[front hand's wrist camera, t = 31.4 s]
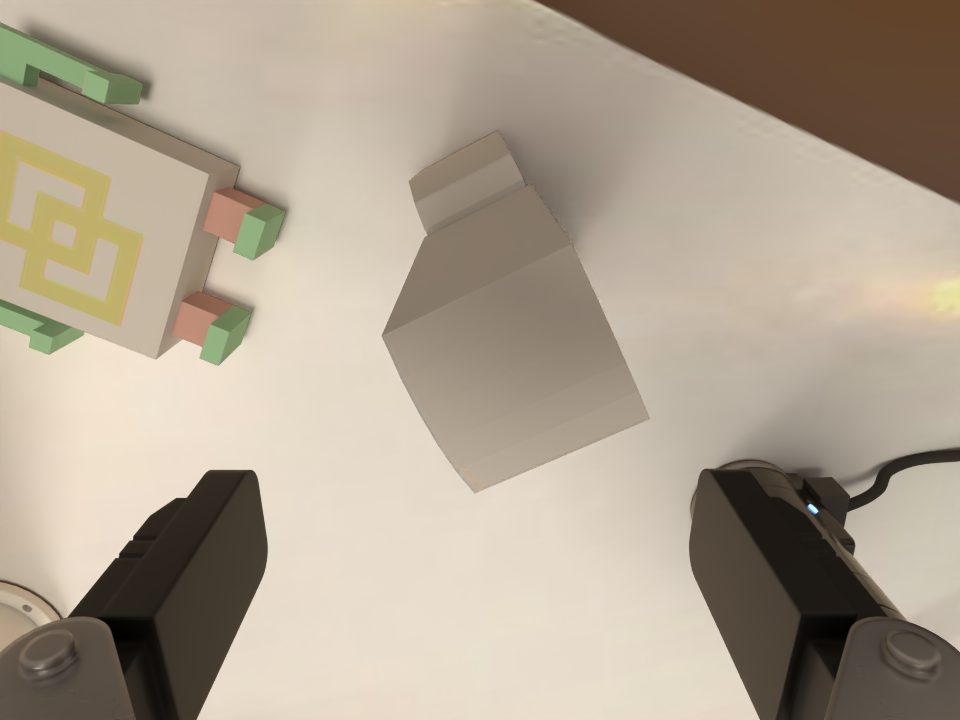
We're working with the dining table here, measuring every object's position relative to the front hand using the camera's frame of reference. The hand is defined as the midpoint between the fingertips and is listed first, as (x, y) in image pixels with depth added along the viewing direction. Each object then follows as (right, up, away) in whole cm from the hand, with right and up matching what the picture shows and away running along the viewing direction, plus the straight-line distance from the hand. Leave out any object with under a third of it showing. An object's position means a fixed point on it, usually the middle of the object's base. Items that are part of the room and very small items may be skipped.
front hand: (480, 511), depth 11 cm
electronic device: (+1, +13, +37) cm, 39 cm away
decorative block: (-28, +14, +36) cm, 48 cm away
